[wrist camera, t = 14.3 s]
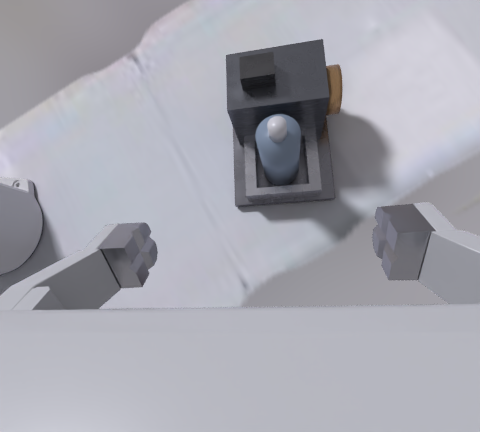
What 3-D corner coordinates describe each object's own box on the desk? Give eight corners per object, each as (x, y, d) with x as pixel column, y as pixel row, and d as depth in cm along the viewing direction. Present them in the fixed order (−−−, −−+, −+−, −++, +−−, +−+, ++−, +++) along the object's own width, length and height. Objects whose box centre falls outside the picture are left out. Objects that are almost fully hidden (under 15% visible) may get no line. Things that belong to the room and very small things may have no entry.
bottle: (259, 180, 41) (247, 141, 29) (269, 149, 41) (260, 99, 30) (293, 188, 39) (293, 151, 28) (302, 156, 40) (306, 107, 29)
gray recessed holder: (236, 206, 41) (215, 179, 30) (233, 100, 45) (214, 40, 34) (341, 198, 39) (363, 165, 27) (328, 86, 43) (342, 17, 31)
